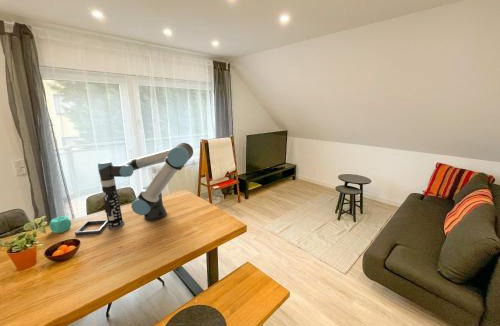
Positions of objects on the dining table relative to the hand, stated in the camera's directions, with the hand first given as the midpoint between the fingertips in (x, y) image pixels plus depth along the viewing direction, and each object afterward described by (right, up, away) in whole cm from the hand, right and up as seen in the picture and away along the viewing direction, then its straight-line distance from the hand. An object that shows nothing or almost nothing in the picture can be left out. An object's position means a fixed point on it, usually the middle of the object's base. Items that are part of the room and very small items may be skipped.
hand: (114, 216), depth 146 cm
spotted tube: (0, -5, +2) cm, 6 cm away
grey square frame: (-13, -8, -2) cm, 15 cm away
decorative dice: (-33, -8, -3) cm, 34 cm away
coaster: (0, -6, +2) cm, 7 cm away
